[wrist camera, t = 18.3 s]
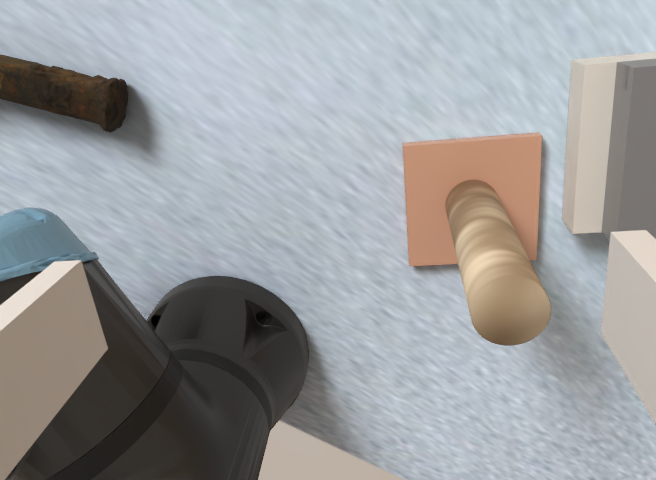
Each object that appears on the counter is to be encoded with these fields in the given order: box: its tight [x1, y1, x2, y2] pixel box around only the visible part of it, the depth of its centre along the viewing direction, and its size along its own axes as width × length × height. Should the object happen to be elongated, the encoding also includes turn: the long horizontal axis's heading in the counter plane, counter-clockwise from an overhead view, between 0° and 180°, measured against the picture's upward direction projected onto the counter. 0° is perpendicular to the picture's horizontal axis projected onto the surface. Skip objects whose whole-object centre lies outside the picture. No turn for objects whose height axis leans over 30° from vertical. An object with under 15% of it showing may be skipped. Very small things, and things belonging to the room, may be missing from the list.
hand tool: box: [0, 55, 128, 132], centre depth 43 cm, size 19×4×5 cm, turn 74°
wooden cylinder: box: [445, 180, 551, 345], centre depth 37 cm, size 4×4×16 cm
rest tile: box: [403, 133, 542, 266], centre depth 44 cm, size 10×10×1 cm
